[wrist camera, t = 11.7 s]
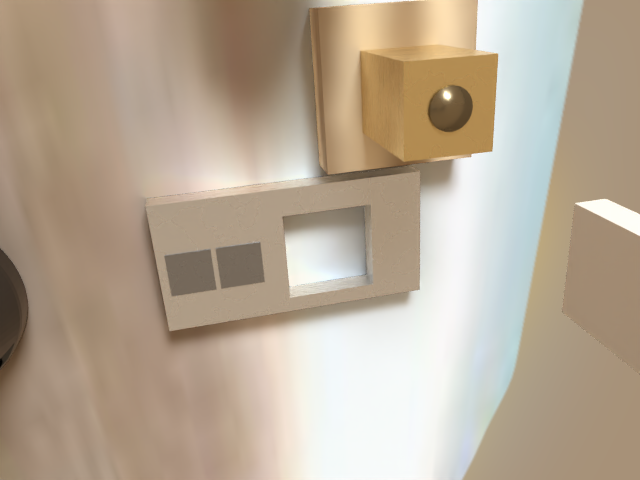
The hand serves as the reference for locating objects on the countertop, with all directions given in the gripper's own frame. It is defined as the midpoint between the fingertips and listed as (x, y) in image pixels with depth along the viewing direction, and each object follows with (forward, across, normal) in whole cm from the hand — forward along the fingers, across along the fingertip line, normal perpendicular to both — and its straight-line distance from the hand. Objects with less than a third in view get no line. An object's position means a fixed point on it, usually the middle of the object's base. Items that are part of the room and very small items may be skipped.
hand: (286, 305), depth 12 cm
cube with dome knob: (+32, +14, -1) cm, 35 cm away
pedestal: (+35, +14, -1) cm, 37 cm away
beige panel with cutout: (+35, +5, -14) cm, 38 cm away
